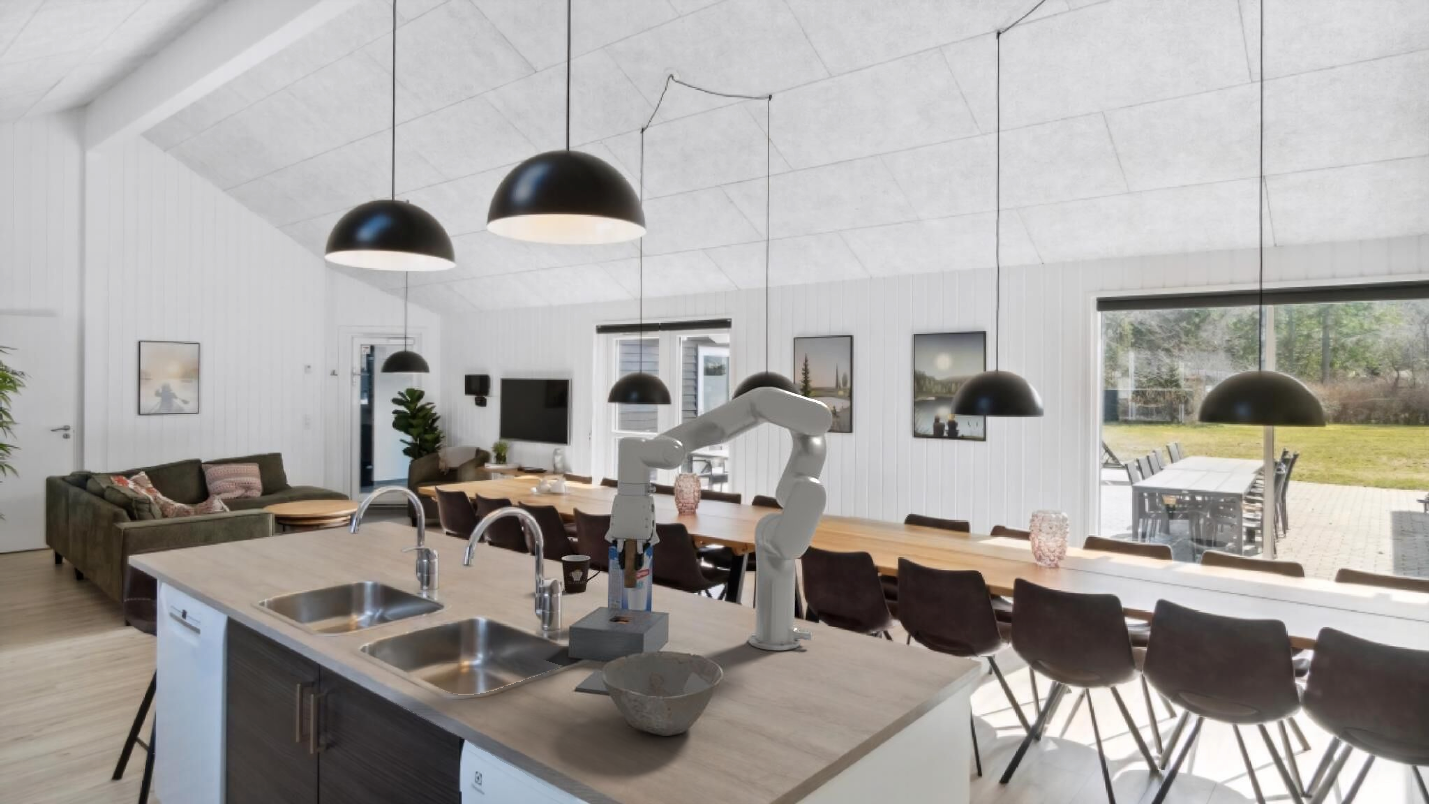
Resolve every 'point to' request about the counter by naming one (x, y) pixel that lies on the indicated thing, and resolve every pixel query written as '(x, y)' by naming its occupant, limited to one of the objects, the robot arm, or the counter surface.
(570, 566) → the coffee mug
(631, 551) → the dowel
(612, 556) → the milk carton
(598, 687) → the mat
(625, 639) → the box
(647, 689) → the ceramic bowl
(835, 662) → the counter surface
